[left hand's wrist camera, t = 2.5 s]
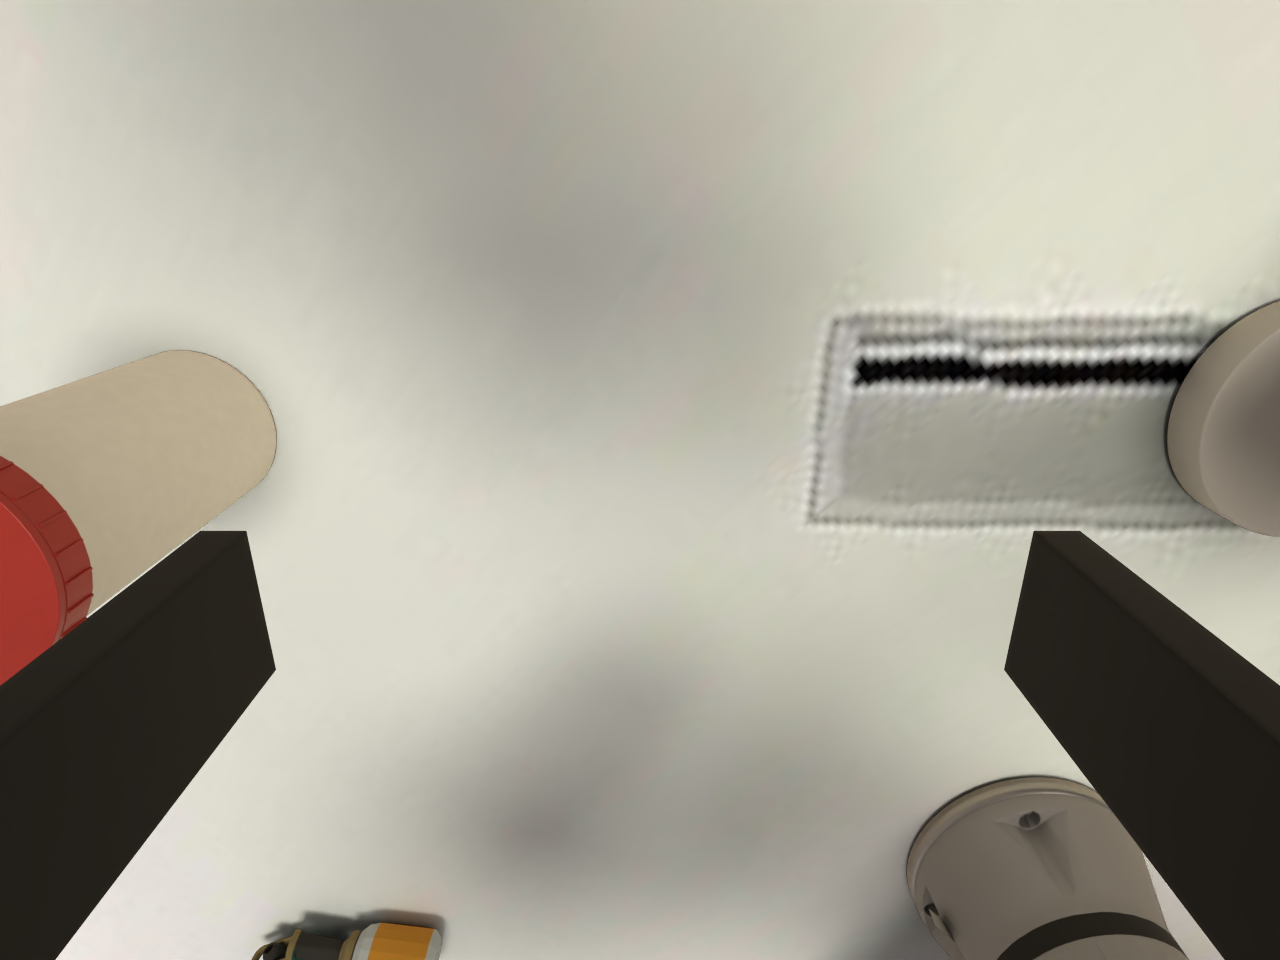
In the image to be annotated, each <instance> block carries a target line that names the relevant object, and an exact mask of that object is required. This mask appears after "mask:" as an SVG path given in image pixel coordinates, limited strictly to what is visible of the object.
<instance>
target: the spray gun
mask: <svg viewBox="0 0 1280 960" xmlns="http://www.w3.org/2000/svg"><path fill="white" fill-rule="evenodd" d="M441 944H442V938H441V936H440V934H439V932H438V930H436V929H432V928H424V927H415V926H407V925H398V924H390V923H376V924H371V925H370V926H368V927H367V928H366V929H365V930H363V931H360V930H354V931H353V932H352V933H351V935H350V936H349V938H347V939H346V940H345V941H344V942H343V941H341V940H338V939H333V938H328V937H323V936H318V935H313V934H308V933H303V930H299V929H296V930H295V932H294V933H293V936H290V937H287V938H285V939H282V940H279V941H276V942H273V943H270V944H267V945H264V946H262V947H261V948H260V949H259V950H258V951H257V952H256V953H255V955H254V956H253V958H252V960H259V959H260V957H261V955H262V954H263V960H439V956H440V951H441Z"/></svg>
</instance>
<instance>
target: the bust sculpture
mask: <svg viewBox="0 0 1280 960" xmlns="http://www.w3.org/2000/svg"><path fill="white" fill-rule="evenodd" d="M1167 445H1168V454H1169V459H1170V463H1171V466H1172V469H1173V471H1174V474H1175V476H1176V478H1177V479H1178V481H1179V483H1180V484H1181V486H1182V487H1183V488H1184V490H1185V491H1186V492H1187V493H1188V494H1189V495H1190V496H1191V497H1192V498H1193V499H1195V500H1196V501H1197V502H1198V503H1200V504H1201V505H1203V506H1205V507H1207V508H1208V509H1210V510H1212V511H1214V512H1215V513H1217V514H1219V515H1221V516H1223V517H1224V518H1226V519H1228V520H1230V521H1232V522H1233V523H1235V524H1237V525H1239V526H1241V527H1243V528H1245V529H1247V530H1250V531H1252V532H1256V533H1259V534H1263V535H1268V536H1276V537H1280V301H1277V302H1275V303H1272V304H1270V305H1267V306H1265V307H1263V308H1261V309H1259V310H1257V311H1255V312H1253V313H1252V314H1250V315H1248V316H1247V317H1245V318H1243V319H1242V320H1240V321H1239V322H1237V323H1236V324H1235V325H1233V326H1232V327H1230V328H1229V329H1228V330H1227V331H1225V332H1224V333H1223V334H1222V335H1221V336H1220V337H1219V338H1217V339H1216V340H1215V341H1214V342H1213V343H1212V344H1211V345H1210V346H1209V347H1208V348H1207V349H1206V351H1205V352H1204V353H1203V354H1202V355H1201V356H1200V358H1199V359H1198V360H1197V361H1196V363H1195V364H1194V365H1193V367H1192V368H1191V370H1190V371H1189V373H1188V375H1187V376H1186V378H1185V380H1184V381H1183V383H1182V385H1181V387H1180V389H1179V391H1178V394H1177V396H1176V398H1175V401H1174V404H1173V407H1172V410H1171V414H1170V419H1169V424H1168V434H1167Z"/></svg>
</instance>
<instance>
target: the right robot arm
mask: <svg viewBox="0 0 1280 960" xmlns="http://www.w3.org/2000/svg"><path fill="white" fill-rule="evenodd" d="M907 881H908V886H909V889H910V892H911V895H912V898H913V900H914V903H915V905H916V908H917V911H918V913H919V915H920V917H921V919H922V920H923V922H924V923H925V925H926V927H927V928H928V930H929V931H930V933H931V934H932V935H933V937H934V938H935V939H936V940H937V942H938V943H939V944H940V945H941V946H942V948H943V949H944V950H945V951H946V953H947V954H948V955H949V956H950V958H951V959H952V960H1189V959H1188V958H1187V956H1186V955H1185V953H1184V952H1183V951H1182V949H1181V948H1180V946H1179V945H1178V943H1177V942H1176V941H1175V939H1174V938H1173V936H1172V935H1171V933H1170V932H1169V930H1168V928H1167V926H1166V923H1165V920H1164V917H1163V914H1162V911H1161V908H1160V905H1159V902H1158V899H1157V896H1156V893H1155V890H1154V887H1153V884H1152V881H1151V878H1150V875H1149V872H1148V869H1147V866H1146V863H1145V860H1144V857H1143V854H1142V851H1141V849H1140V848H1139V846H1138V845H1137V844H1136V842H1135V841H1134V840H1133V838H1132V837H1131V836H1130V834H1129V833H1128V832H1127V831H1126V829H1125V828H1124V827H1123V825H1122V824H1121V823H1120V821H1119V820H1118V819H1117V817H1116V816H1115V815H1114V813H1113V812H1112V811H1111V809H1110V808H1109V807H1108V806H1107V804H1106V803H1105V802H1104V800H1103V799H1102V798H1101V796H1100V795H1099V794H1098V793H1096V792H1095V791H1093V790H1091V789H1089V788H1087V787H1085V786H1082V785H1080V784H1077V783H1074V782H1070V781H1067V780H1061V779H1056V778H1045V777H1030V778H1019V779H1011V780H1006V781H1002V782H998V783H994V784H991V785H987V786H985V787H982V788H979V789H977V790H974V791H972V792H970V793H968V794H966V795H964V796H962V797H960V798H959V799H957V800H955V801H954V802H952V803H951V804H949V805H948V806H946V807H945V808H944V809H943V810H941V811H940V812H939V813H938V814H937V815H936V816H934V817H933V818H932V819H931V820H930V822H929V823H928V824H927V825H926V826H925V827H924V829H923V830H922V831H921V833H920V834H919V836H918V837H917V839H916V841H915V843H914V845H913V847H912V849H911V852H910V855H909V859H908V864H907Z"/></svg>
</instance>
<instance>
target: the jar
mask: <svg viewBox="0 0 1280 960" xmlns="http://www.w3.org/2000/svg"><path fill="white" fill-rule="evenodd" d="M275 451H276V430H275V425H274V421H273V418H272V415H271V412H270V410H269V408H268V406H267V404H266V402H265V400H264V399H263V397H262V396H261V394H260V393H259V391H258V390H257V389H256V388H255V386H254V385H253V384H252V383H251V382H250V381H249V380H248V379H247V378H246V377H245V376H244V375H243V374H241V373H240V372H239V371H237V370H236V369H235V368H233V367H232V366H230V365H228V364H227V363H225V362H223V361H221V360H219V359H217V358H214V357H212V356H209V355H206V354H202V353H198V352H193V351H184V350H177V351H167V352H161V353H158V354H155V355H152V356H149V357H146V358H143V359H140V360H137V361H134V362H131V363H128V364H125V365H122V366H119V367H116V368H113V369H110V370H107V371H104V372H101V373H98V374H95V375H92V376H90V377H87V378H84V379H81V380H78V381H75V382H72V383H69V384H66V385H63V386H60V387H57V388H54V389H51V390H48V391H45V392H42V393H39V394H36V395H33V396H30V397H27V398H24V399H21V400H18V401H15V402H12V403H9V404H6V405H4V406H1V407H0V456H2V457H4V458H5V459H7V460H9V461H12V462H13V463H14V464H15V465H17V466H18V467H20V468H21V469H22V470H24V471H25V472H27V473H28V474H29V475H31V476H32V477H33V478H34V479H35V480H37V481H38V482H39V483H40V484H42V485H43V487H44V488H45V489H46V490H47V491H48V492H49V493H50V494H51V495H52V496H53V497H54V498H55V499H56V500H57V501H58V502H59V504H60V505H61V506H62V507H63V509H64V510H66V512H67V514H68V515H69V517H70V518H71V520H72V521H73V523H74V525H75V526H76V528H77V529H78V531H79V534H80V536H81V538H82V539H83V540H84V541H83V542H84V544H85V547H86V550H87V553H88V556H89V559H90V564H91V567H92V568H93V570H92V575H93V592H92V594H94V596H93V597H92V600H91V604H90V607H89V611H88V614H90V613H91V612H92V611H94V610H95V609H96V608H98V607H99V606H100V605H101V604H103V603H104V602H105V601H107V600H108V599H109V598H111V597H112V596H113V595H114V594H116V593H117V592H118V591H120V590H121V589H122V588H124V587H125V586H126V585H128V584H129V583H130V582H131V581H133V580H134V579H135V578H137V577H138V576H139V575H141V574H142V573H143V572H144V571H146V570H147V569H148V568H150V567H151V566H152V565H154V564H155V563H156V562H157V561H159V560H160V559H161V558H163V557H164V556H165V555H167V554H168V553H169V552H170V551H172V550H173V549H174V548H176V547H177V546H178V545H180V544H181V543H182V542H184V541H185V540H186V539H187V538H189V537H190V536H191V535H193V534H194V533H195V532H197V531H198V530H199V529H200V528H202V527H203V526H204V525H206V524H207V523H208V522H210V521H211V520H212V519H213V518H215V517H216V516H217V515H219V514H220V513H221V512H223V511H224V510H225V509H226V508H228V507H229V506H230V505H232V504H233V503H234V502H236V501H237V500H238V499H240V498H241V497H242V496H243V495H245V494H246V493H247V492H249V491H250V490H251V489H253V488H254V487H255V486H256V485H257V484H258V483H259V482H261V481H262V479H263V478H264V477H265V476H266V474H267V473H268V471H269V469H270V467H271V465H272V462H273V460H274V456H275ZM88 614H87V615H88Z"/></svg>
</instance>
